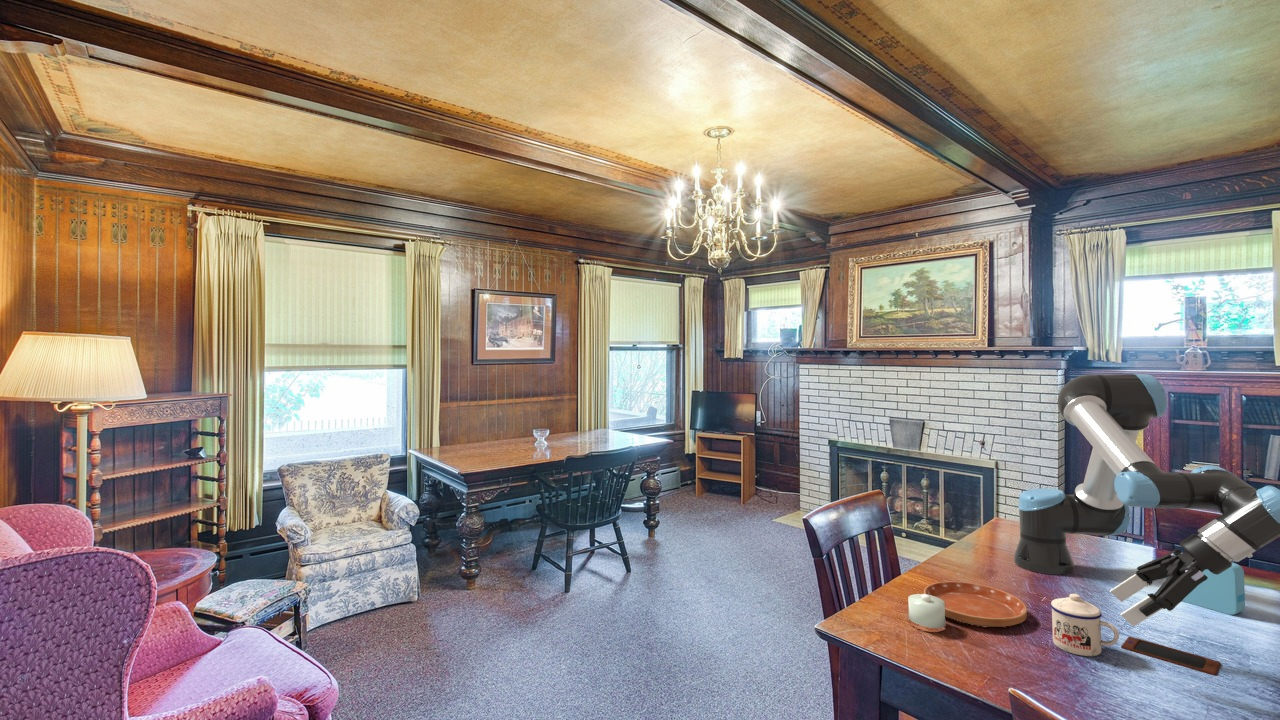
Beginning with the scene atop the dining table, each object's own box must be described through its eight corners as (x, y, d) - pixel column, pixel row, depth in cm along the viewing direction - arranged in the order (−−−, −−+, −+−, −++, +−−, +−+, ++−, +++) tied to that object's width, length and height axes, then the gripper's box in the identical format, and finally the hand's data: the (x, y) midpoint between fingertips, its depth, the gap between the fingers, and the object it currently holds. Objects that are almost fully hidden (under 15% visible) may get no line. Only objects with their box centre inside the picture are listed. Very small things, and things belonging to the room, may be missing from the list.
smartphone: (1128, 635, 130) (1221, 661, 118) (1128, 639, 130) (1221, 665, 118) (1120, 645, 126) (1215, 673, 114) (1120, 649, 126) (1216, 678, 114)
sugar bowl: (911, 615, 145) (910, 586, 145) (946, 622, 140) (946, 593, 140) (906, 627, 138) (905, 598, 138) (943, 635, 134) (942, 605, 134)
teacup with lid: (1046, 646, 127) (1044, 594, 127) (1058, 633, 133) (1056, 583, 133) (1114, 667, 118) (1112, 611, 118) (1124, 652, 124) (1122, 599, 124)
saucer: (1018, 601, 152) (1017, 587, 152) (1036, 640, 131) (1035, 624, 131) (922, 589, 161) (922, 576, 161) (925, 623, 140) (925, 608, 140)
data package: (1245, 613, 140) (1244, 565, 141) (1237, 617, 139) (1235, 568, 139) (1183, 596, 151) (1182, 551, 151) (1174, 599, 150) (1173, 553, 150)
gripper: (1257, 584, 102) (1150, 648, 109) (1214, 545, 123) (1126, 601, 130) (1215, 550, 104) (1114, 615, 112) (1179, 518, 126) (1096, 574, 133)
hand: (1120, 607), depth 121 cm, fingers open, 13 cm apart
